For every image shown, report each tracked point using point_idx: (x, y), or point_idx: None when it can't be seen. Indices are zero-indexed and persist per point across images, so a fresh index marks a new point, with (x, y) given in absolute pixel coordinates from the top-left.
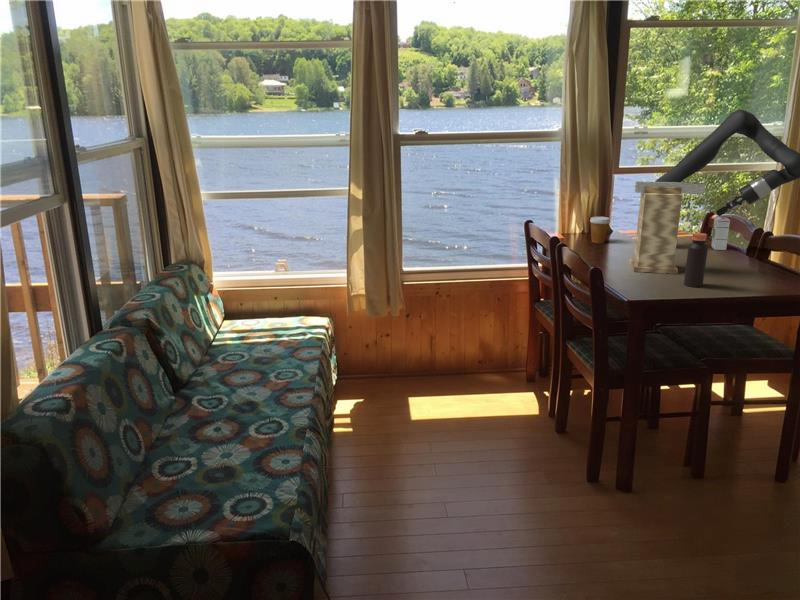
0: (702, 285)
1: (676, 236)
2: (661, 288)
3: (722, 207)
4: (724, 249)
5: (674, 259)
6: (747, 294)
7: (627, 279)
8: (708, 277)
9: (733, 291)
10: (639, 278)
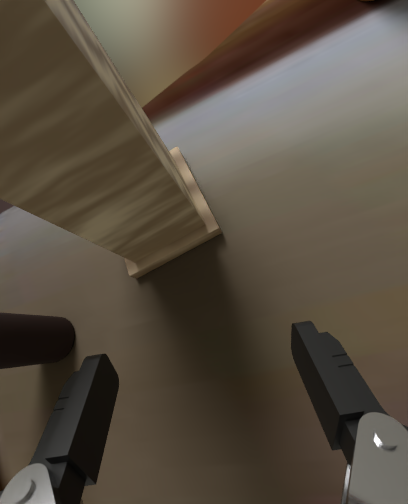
0: (51, 362)
1: (64, 227)
2: (16, 287)
3: (57, 428)
4: None
5: (121, 255)
6: None
7: None
8: (140, 358)
9: (37, 445)
10: None
